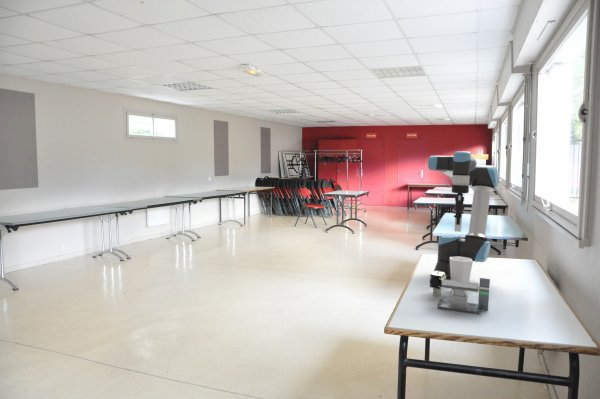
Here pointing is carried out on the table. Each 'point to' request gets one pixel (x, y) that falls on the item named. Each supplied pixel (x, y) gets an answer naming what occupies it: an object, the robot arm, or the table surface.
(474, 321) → the table surface
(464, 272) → the cup
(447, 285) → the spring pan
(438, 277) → the pneumatic valve
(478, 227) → the robot arm
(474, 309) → the stand
